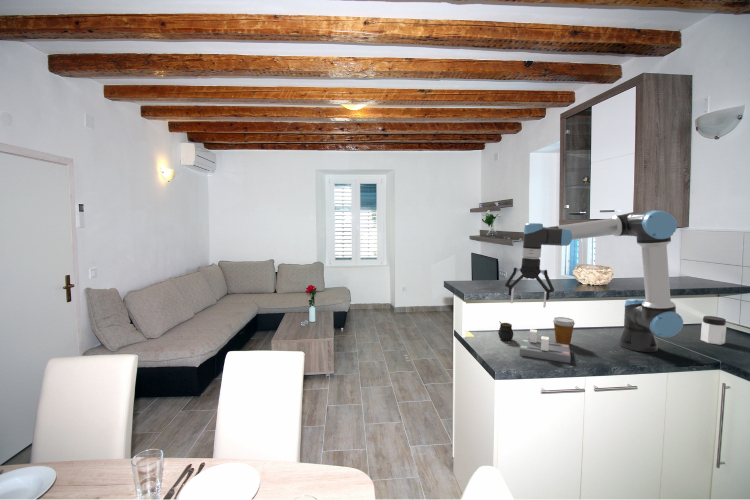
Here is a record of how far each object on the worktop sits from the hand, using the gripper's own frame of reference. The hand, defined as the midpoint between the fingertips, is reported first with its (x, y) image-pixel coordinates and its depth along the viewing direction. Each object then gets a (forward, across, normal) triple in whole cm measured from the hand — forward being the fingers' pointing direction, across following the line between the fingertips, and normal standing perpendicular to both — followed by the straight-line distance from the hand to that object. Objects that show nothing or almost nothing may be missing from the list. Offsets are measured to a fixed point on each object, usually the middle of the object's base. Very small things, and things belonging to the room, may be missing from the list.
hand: (527, 304), depth 163 cm
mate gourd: (+23, -10, +15) cm, 29 cm away
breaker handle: (+19, +3, +8) cm, 21 cm away
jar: (+19, +81, +58) cm, 102 cm away
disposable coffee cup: (+22, +16, +22) cm, 35 cm away
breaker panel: (+22, +8, +4) cm, 24 cm away
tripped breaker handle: (+19, +8, -1) cm, 20 cm away
